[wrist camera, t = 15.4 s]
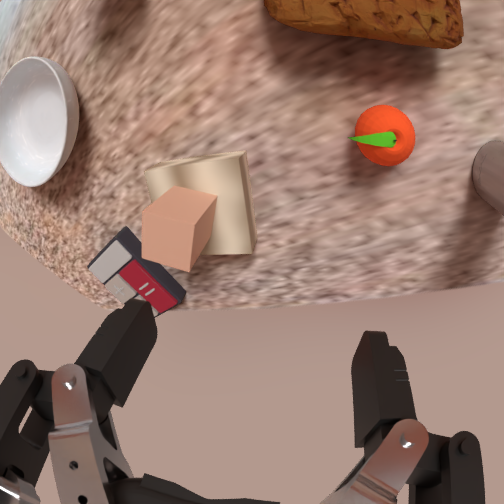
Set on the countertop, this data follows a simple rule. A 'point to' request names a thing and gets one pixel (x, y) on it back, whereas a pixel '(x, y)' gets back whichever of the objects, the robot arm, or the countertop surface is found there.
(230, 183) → the birch block
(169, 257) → the terracotta block
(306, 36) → the countertop surface
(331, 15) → the clay tablet
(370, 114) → the clementine
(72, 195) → the countertop surface
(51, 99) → the serving bowl
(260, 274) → the countertop surface
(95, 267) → the grey and red box
